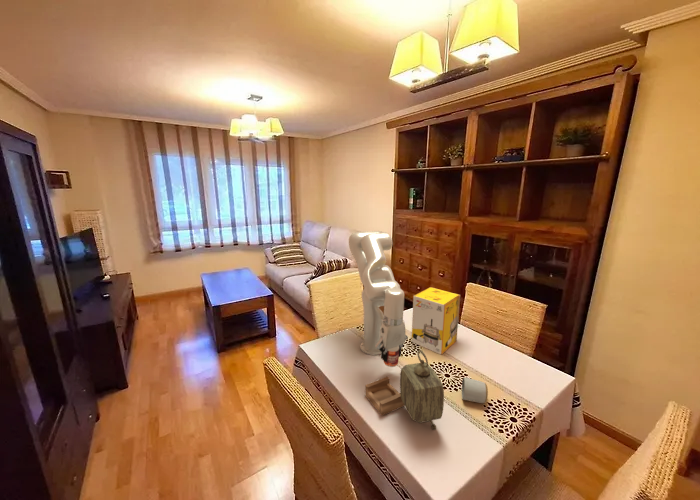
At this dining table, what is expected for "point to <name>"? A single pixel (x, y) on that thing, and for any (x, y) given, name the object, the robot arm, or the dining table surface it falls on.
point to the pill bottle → (392, 357)
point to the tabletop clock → (422, 391)
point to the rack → (383, 396)
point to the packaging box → (435, 319)
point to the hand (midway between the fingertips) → (391, 357)
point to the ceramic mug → (474, 390)
